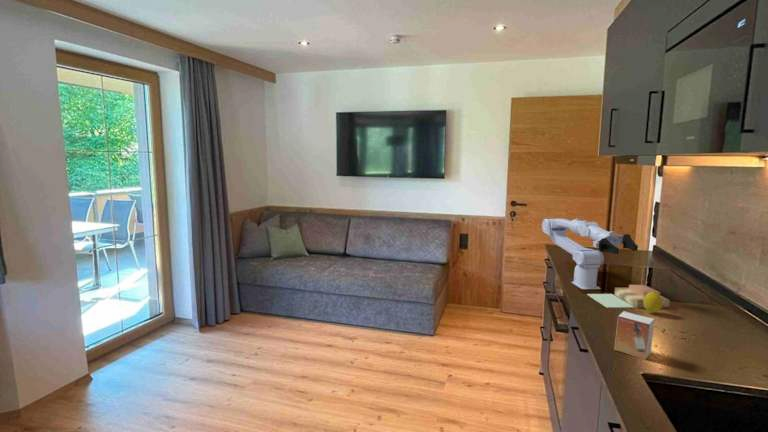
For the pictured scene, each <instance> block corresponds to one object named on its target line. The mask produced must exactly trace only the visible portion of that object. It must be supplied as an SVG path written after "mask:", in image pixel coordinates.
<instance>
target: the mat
mask: <svg viewBox="0 0 768 432" xmlns="http://www.w3.org/2000/svg"><path fill="white" fill-rule="evenodd" d="M586 296H588V297H590V298H591V299H593V300H594V301H596V302H597V303H599V304H600V305H602V306H604V307H605V308H607V309H635V307H634V306H633V305H631V304H629V303H627V302H626V301H624V300H622V299H621V298H619V297H617V296H615V295H614V294H613V293H587V294H586Z"/></svg>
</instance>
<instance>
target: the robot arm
mask: <svg viewBox="0 0 768 432" xmlns="http://www.w3.org/2000/svg"><path fill="white" fill-rule="evenodd" d="M541 228H542V232H543V233H544V234H546V235H547V236H548V237H549V238H550V240H551V241H552V243H553V244H555V245H556V246H558V247H560V248H561V249H563V250H565V252H567V253H569V254H571V255H572V260H573V261H574V262H575V263H576V265H575V267H574V272H573V281H571V283H572V284H573V285H574V286H576V287H578V288H579V289H580V290H601V287H600V286H597V281H598V271H599V270H598V269H599V268H601V267H600V266H601V265H602V264H603V263H604V260H605V259H604V254H603V253H610V254H613V255H619V247H618V246H620V245H621V244H622V245H623V246H622V249H628V250H631V251H634V252H637V251H638V250H639V249H638V248H639V246H638V244H637V243H635V241H634V240H633V238H632V237H631V235H630V234H628V233H626V234H623V235H621V234H616V233H615V231H614V230H612V231H608V230H606V229H604V228H602V227H600V226H599V224H598V222H595V221H592V222H589V221H588V220H586V219H585V220H581V219H580V218H575V219H572V220H569V219H566V218H544V219H543V220H542V222H541ZM568 229H569V231H570V232H572V233H574V234H575V233H576V234H579V235H580V237H587V238H589V239H591V240H593V241H592V247H594V248H595V249H597V250H595V249H593V248H588V247H584V246H583V245H581V244H579V243H577V242H576V241H574V240H572V239H571V238H569V237H567V236H568V231H567V230H568Z"/></svg>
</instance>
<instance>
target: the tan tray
mask: <svg viewBox="0 0 768 432" xmlns="http://www.w3.org/2000/svg"><path fill="white" fill-rule="evenodd" d="M613 295H615V296H616V297H618V298H620V299H622V300H623V301H625V302H627V303H628V304H630V305H632V306H633V307H634V308H636V309H645V307H644V305H643V300H644V298H643V297H642V296H640V295H638V294H636V293H634V292H632V291H630V290H629V287H614V294H613ZM660 297H661V299H662V307H661V309H667V308H666V307H670V299H668V298H666V297H664V296H663V295H661V294H660Z"/></svg>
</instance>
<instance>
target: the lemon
mask: <svg viewBox="0 0 768 432" xmlns="http://www.w3.org/2000/svg"><path fill="white" fill-rule="evenodd" d="M660 295H661V294H660ZM660 295H658V294H657V293H655V292H650V293H648V294H646V295H645V297H644V300H643V305H644V307H645V308H644V309H645V310H646V311H647V312H649V313H650V314H654V313H657V312H659V311H661V309H662V308H661V307H662V299H661V297H660Z"/></svg>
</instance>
